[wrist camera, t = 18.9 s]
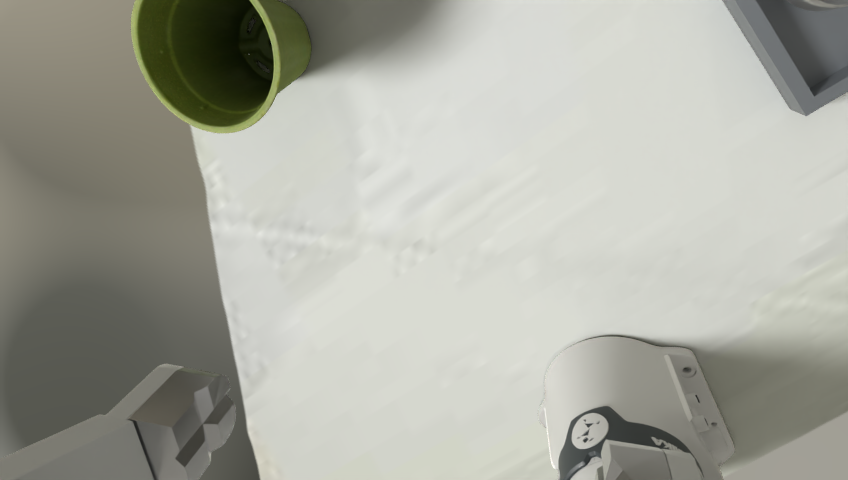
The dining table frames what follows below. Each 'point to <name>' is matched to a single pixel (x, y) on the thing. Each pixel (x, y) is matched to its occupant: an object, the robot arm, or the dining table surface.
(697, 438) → the robot arm
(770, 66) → the charcoal tray
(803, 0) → the plastic bottle
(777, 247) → the dining table surface
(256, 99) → the plant pot
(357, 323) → the dining table surface
